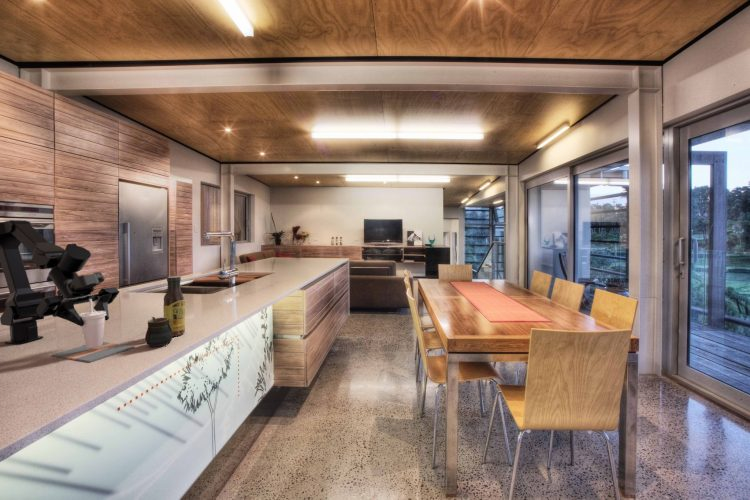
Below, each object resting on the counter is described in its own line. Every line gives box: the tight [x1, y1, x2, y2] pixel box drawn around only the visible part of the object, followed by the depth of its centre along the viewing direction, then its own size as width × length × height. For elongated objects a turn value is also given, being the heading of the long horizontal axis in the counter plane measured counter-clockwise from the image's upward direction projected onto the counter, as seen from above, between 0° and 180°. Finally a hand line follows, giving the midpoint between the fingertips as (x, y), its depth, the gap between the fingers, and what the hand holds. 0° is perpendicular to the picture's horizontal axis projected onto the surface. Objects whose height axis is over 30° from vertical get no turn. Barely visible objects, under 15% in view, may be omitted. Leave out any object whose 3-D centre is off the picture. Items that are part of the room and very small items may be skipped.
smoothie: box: [78, 299, 107, 348], centre depth 98 cm, size 6×6×14 cm
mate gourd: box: [144, 316, 174, 348], centre depth 104 cm, size 7×8×10 cm
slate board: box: [51, 341, 136, 364], centre depth 99 cm, size 16×12×1 cm
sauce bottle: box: [163, 275, 186, 337], centre depth 114 cm, size 6×6×20 cm
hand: (95, 322), depth 98 cm, fingers closed on smoothie, 6 cm apart
